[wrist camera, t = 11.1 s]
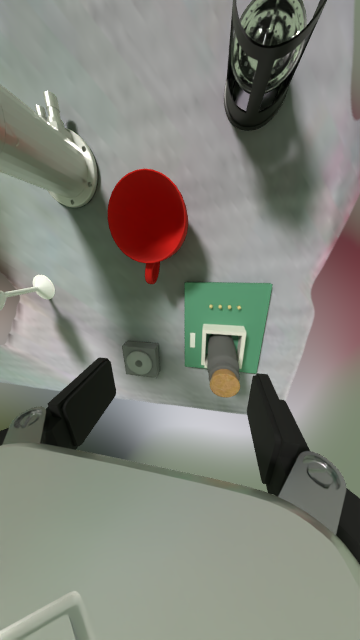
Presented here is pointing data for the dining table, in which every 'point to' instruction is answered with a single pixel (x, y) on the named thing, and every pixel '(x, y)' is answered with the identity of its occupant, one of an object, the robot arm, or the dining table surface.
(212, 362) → the bottle
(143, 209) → the ceramic cup
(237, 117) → the french press
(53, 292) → the champagne flute
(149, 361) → the speaker
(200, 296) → the board
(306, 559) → the robot arm
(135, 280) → the dining table surface
